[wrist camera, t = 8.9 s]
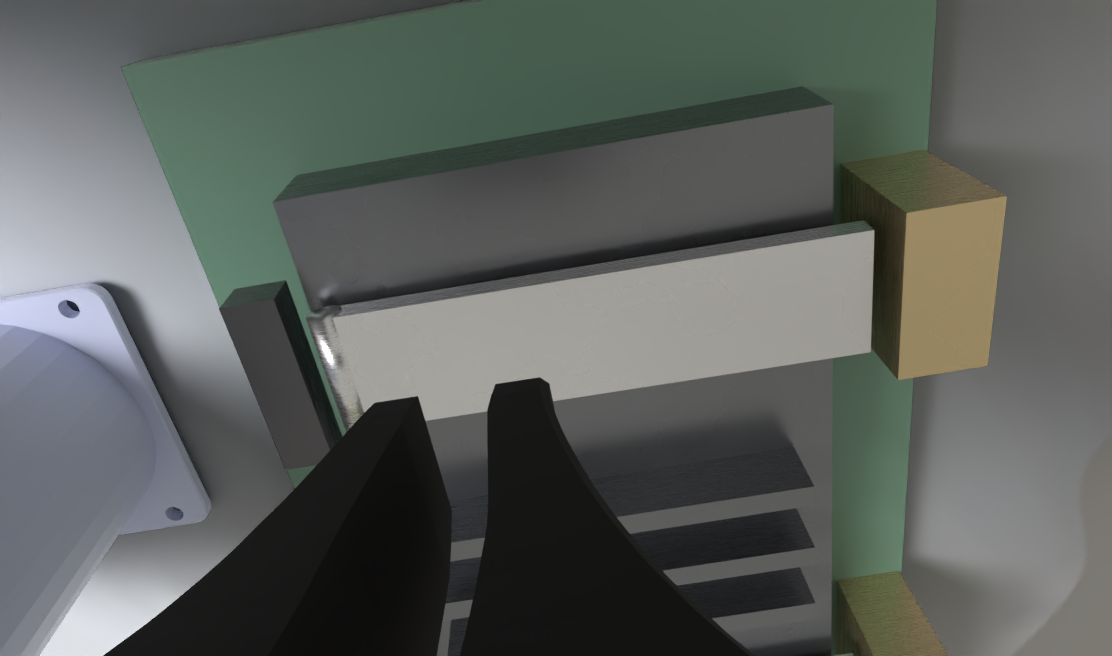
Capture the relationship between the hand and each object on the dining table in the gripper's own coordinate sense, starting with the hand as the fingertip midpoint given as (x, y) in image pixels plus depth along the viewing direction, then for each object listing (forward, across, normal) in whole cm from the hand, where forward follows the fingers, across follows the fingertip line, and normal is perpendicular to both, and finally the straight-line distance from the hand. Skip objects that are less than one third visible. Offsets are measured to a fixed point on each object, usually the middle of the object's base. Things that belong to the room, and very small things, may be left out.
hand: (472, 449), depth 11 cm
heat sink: (+9, -2, +9) cm, 13 cm away
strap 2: (+7, -2, +2) cm, 8 cm away
